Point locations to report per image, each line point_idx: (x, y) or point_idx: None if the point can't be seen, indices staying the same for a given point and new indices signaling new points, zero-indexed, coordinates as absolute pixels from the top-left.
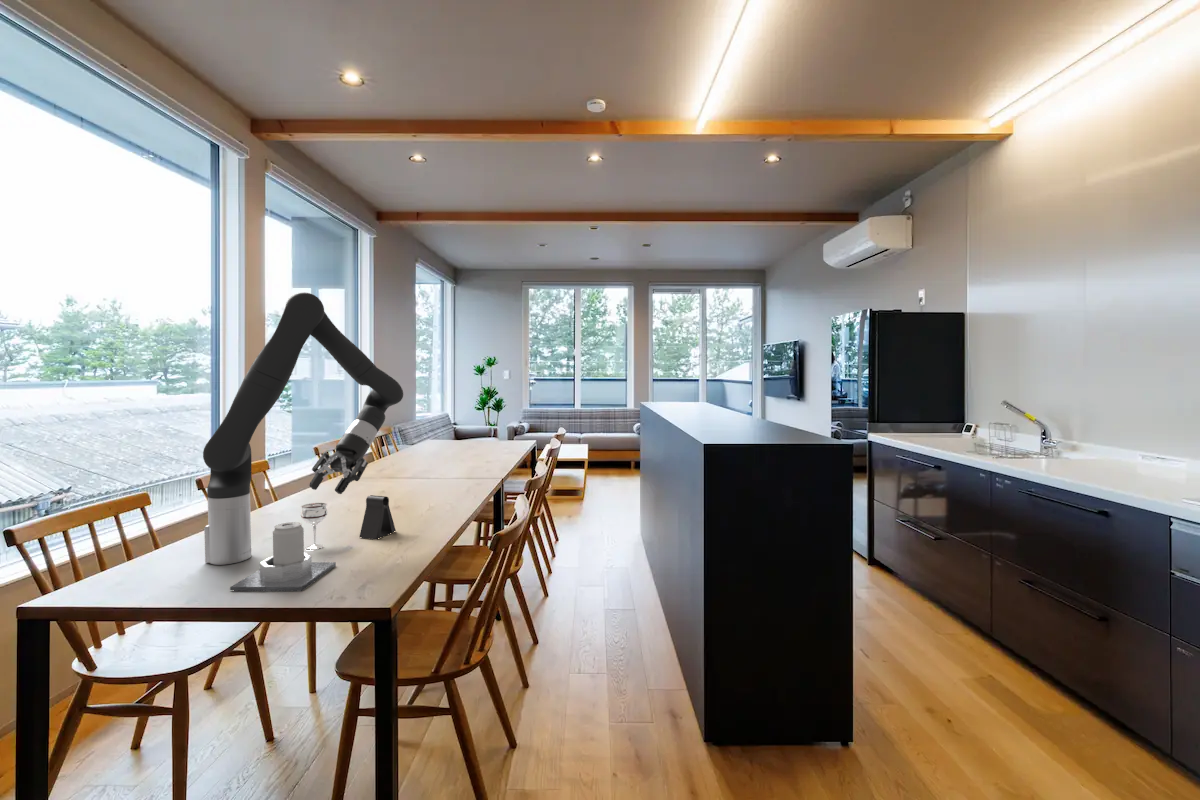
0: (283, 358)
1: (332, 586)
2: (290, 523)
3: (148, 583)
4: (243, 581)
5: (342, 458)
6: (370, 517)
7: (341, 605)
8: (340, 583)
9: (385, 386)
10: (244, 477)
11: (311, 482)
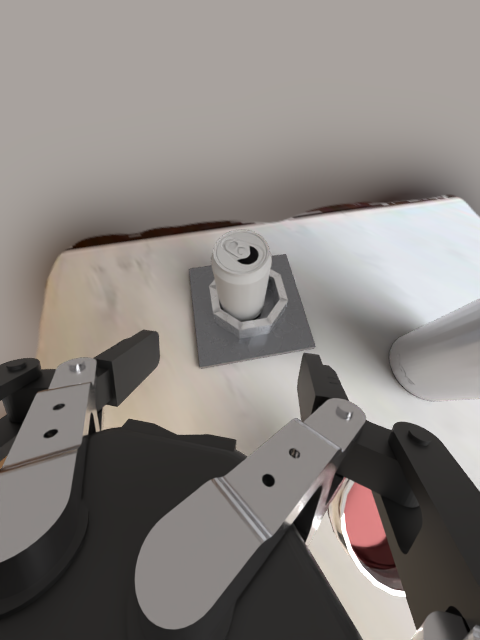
0: None
1: (157, 293)
2: (251, 267)
3: (420, 260)
4: (285, 270)
5: (34, 504)
6: None
7: (115, 248)
8: (150, 304)
9: None
10: None
11: (317, 360)
